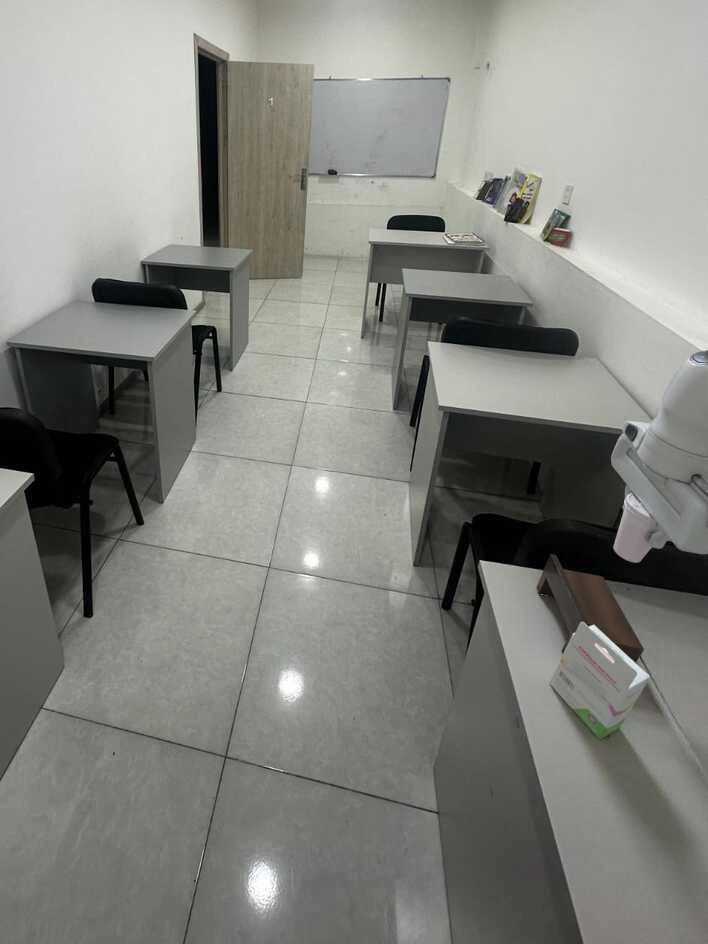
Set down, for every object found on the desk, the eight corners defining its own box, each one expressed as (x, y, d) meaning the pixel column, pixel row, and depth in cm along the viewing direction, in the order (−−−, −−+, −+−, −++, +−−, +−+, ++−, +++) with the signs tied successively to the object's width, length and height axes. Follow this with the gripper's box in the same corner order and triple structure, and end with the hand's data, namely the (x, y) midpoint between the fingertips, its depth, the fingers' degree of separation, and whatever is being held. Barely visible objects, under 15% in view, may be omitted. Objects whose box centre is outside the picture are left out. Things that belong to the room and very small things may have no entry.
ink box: (621, 728, 71) (663, 664, 65) (599, 741, 69) (639, 676, 63) (568, 671, 78) (601, 608, 72) (546, 681, 76) (578, 618, 70)
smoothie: (599, 551, 77) (633, 482, 71) (608, 531, 81) (641, 464, 75) (647, 577, 73) (688, 506, 67) (654, 554, 77) (693, 486, 71)
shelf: (591, 599, 91) (608, 564, 87) (629, 673, 78) (652, 636, 75) (535, 588, 92) (550, 553, 89) (564, 659, 80) (583, 622, 76)
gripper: (757, 509, 59) (707, 588, 65) (661, 422, 78) (628, 489, 83) (701, 500, 60) (656, 579, 66) (619, 415, 79) (589, 482, 84)
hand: (640, 527), depth 75 cm, fingers closed on smoothie, 5 cm apart
